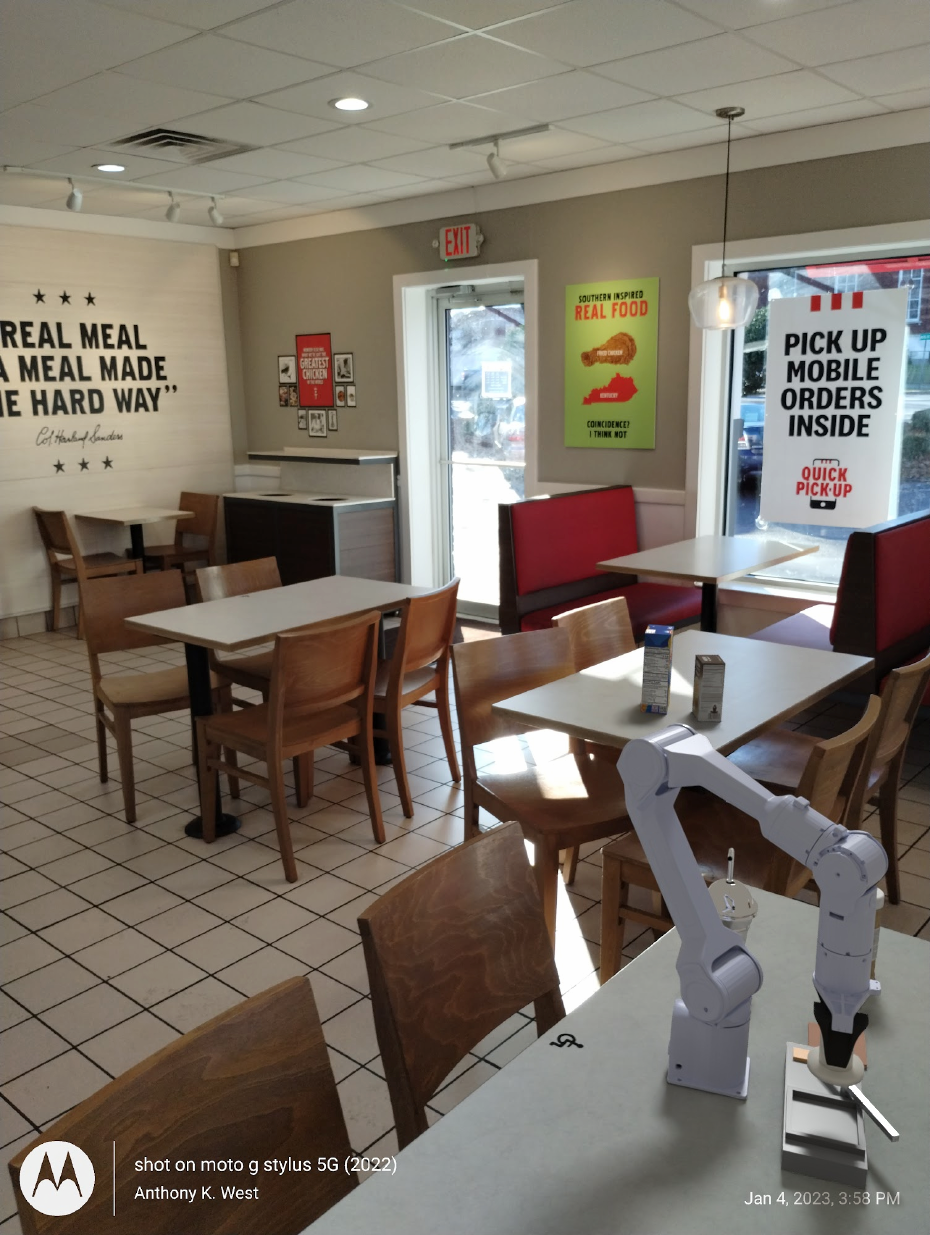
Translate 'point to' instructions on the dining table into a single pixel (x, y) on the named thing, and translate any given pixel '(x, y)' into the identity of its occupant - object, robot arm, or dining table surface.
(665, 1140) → the dining table surface
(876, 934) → the sprinkles bottle
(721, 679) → the coffee box
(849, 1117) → the power strip
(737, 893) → the cup with straw
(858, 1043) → the mat
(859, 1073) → the plug
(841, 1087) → the clip
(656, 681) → the beverage box
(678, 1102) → the dining table surface
